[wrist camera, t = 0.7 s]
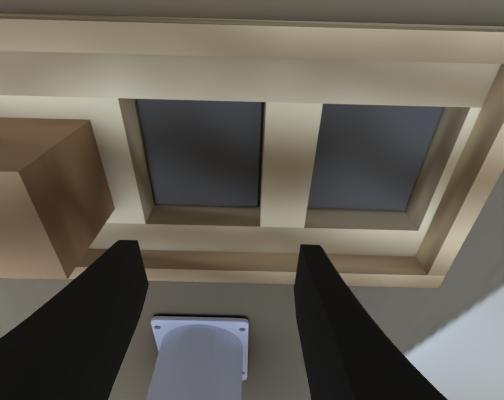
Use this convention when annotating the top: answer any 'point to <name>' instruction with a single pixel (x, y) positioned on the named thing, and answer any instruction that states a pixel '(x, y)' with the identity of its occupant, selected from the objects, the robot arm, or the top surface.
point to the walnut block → (49, 196)
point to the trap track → (273, 138)
